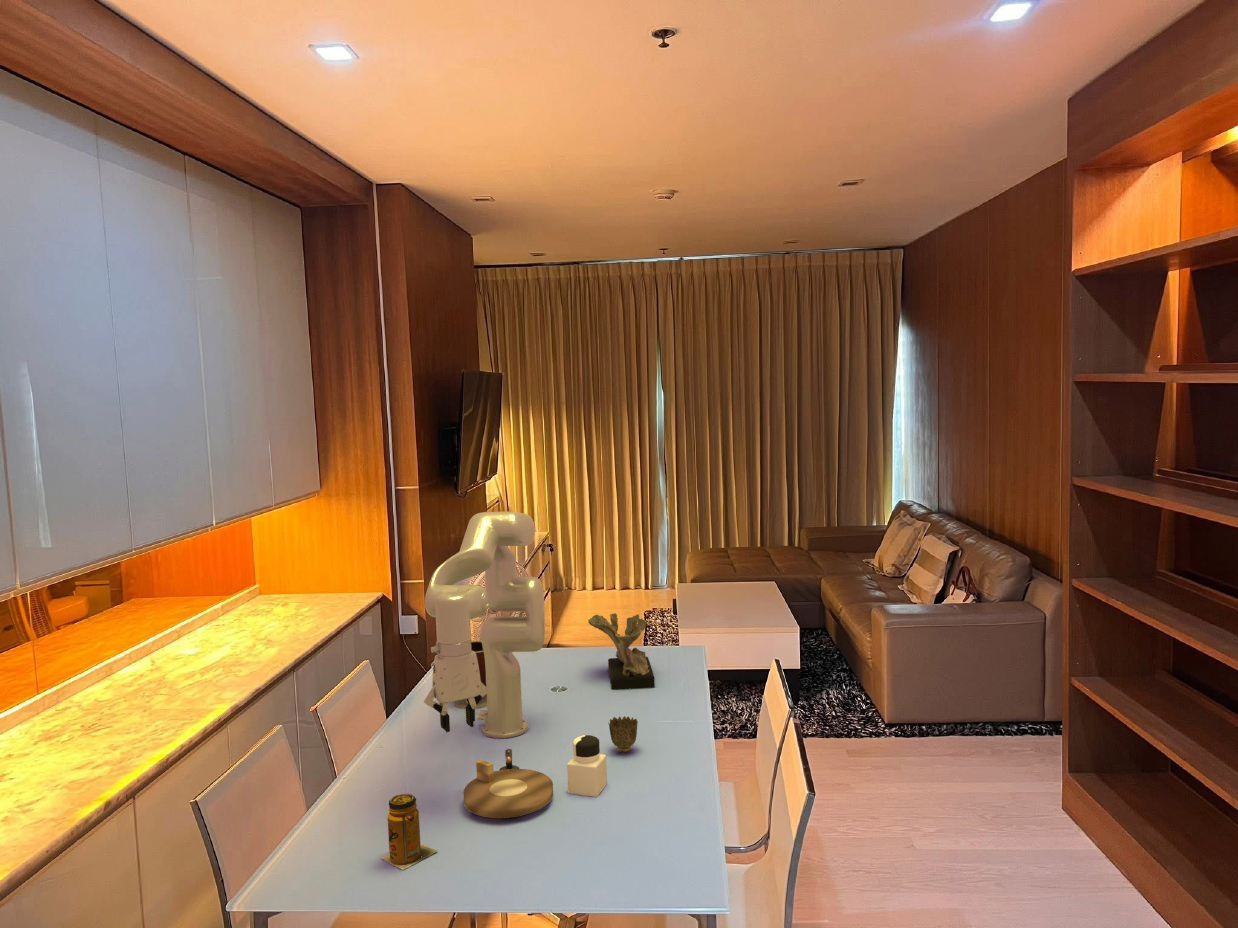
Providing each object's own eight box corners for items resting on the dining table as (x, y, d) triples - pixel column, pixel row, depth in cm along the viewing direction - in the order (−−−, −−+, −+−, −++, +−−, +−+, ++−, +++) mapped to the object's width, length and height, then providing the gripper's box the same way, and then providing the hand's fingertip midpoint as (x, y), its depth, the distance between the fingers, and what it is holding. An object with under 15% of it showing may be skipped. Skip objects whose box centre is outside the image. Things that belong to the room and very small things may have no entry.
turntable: (571, 790, 190) (570, 765, 190) (508, 827, 175) (507, 799, 174) (509, 769, 203) (508, 745, 202) (444, 801, 187) (443, 775, 187)
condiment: (380, 858, 166) (377, 800, 166) (416, 841, 173) (413, 784, 172) (402, 870, 162) (399, 810, 161) (438, 852, 168) (435, 794, 167)
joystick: (499, 769, 206) (498, 746, 206) (519, 767, 207) (518, 744, 206) (498, 781, 199) (497, 758, 199) (519, 780, 200) (518, 756, 199)
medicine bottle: (607, 783, 196) (605, 733, 195) (596, 797, 190) (595, 745, 189) (579, 780, 199) (577, 730, 198) (567, 793, 192) (565, 742, 191)
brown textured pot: (635, 758, 210) (634, 727, 209) (606, 756, 212) (605, 725, 211) (640, 746, 217) (639, 716, 217) (613, 744, 219) (612, 715, 218)
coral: (655, 691, 259) (653, 623, 257) (589, 694, 258) (587, 626, 257) (650, 667, 284) (648, 604, 282) (590, 669, 283) (588, 606, 282)
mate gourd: (469, 691, 264) (466, 629, 263) (506, 697, 258) (503, 633, 257) (438, 708, 251) (435, 642, 249) (476, 714, 244) (473, 647, 243)
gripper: (421, 658, 180) (426, 741, 181) (496, 645, 188) (499, 724, 189) (412, 650, 186) (416, 730, 187) (484, 638, 195) (488, 714, 196)
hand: (458, 726), depth 188 cm, fingers open, 4 cm apart
